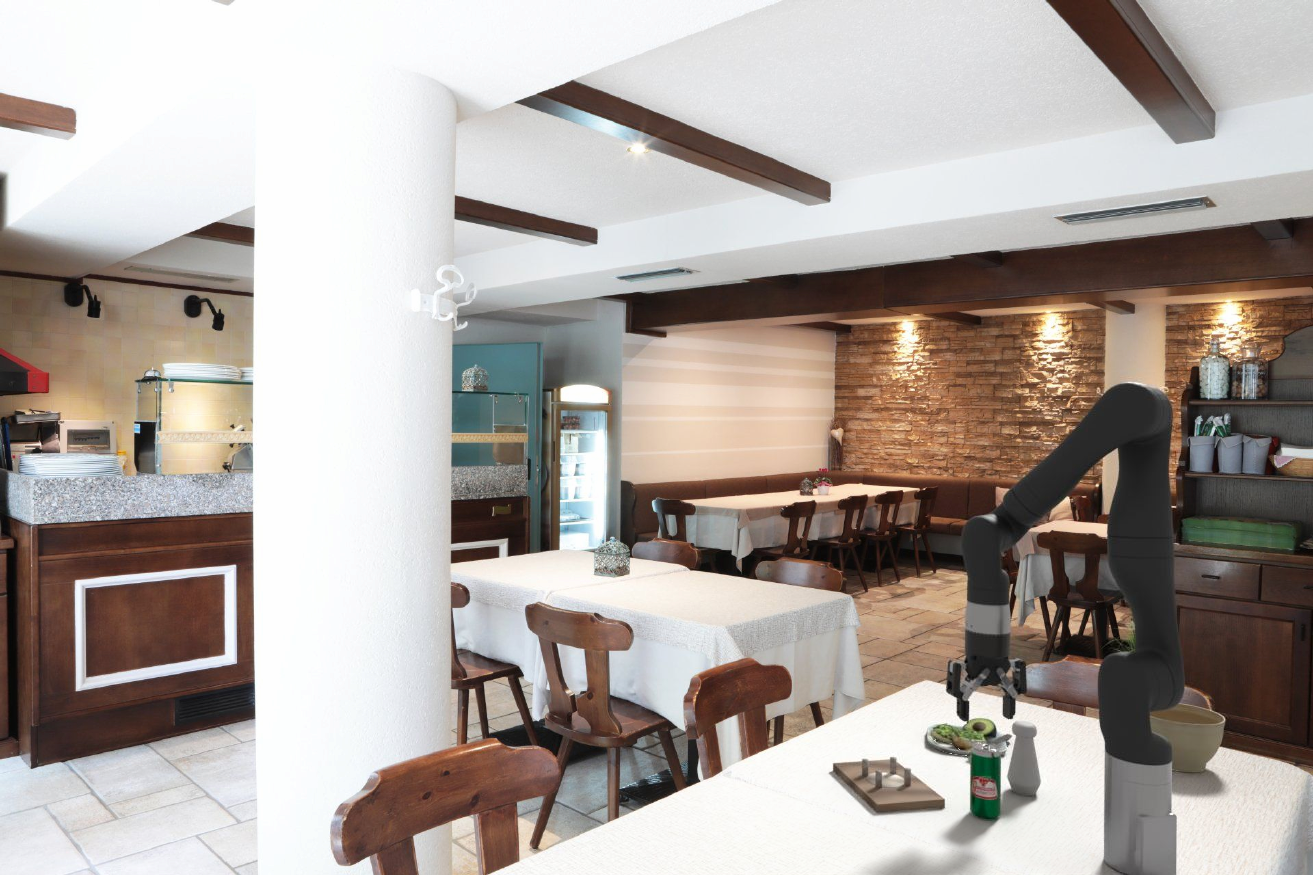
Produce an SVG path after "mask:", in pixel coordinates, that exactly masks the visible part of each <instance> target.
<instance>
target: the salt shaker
mask: <svg viewBox="0 0 1313 875" xmlns="http://www.w3.org/2000/svg"><path fill="white" fill-rule="evenodd" d="M1011 732H1012V735H1015V739H1014V742H1013V748H1012V752H1011V758H1010V761H1009V767H1008V770H1007V776H1006V777H1007V780H1008V783H1009V785H1010V788H1011V791H1012V792H1013V793H1015V794H1017V795H1020V796H1026V797H1032V796H1034V795H1036V794H1037V792H1038V790H1039V788H1040V786H1041V784H1042V783H1041V782H1042V779H1041V774H1040V769H1039V763H1038V757H1037V751H1036V750H1037V749H1036V746H1035V740H1034V738H1036V737H1037V734H1038V729H1037V726H1036V725H1035V724H1034V723H1033V722H1030V721H1028V720H1027V721H1026V720H1016V721H1014V722H1013V723H1012V725H1011Z"/></svg>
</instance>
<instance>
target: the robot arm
mask: <svg viewBox="0 0 1313 875" xmlns="http://www.w3.org/2000/svg"><path fill="white" fill-rule="evenodd" d="M1173 421H1174V409H1173V406H1172V402H1171V401H1170V399H1169V397H1168V396H1167V394H1166V393H1165V392H1163V390H1162V389H1160V388H1158V387H1156V386H1153V385H1150V384H1146V383H1141V382H1135V381H1126V382H1120V383H1118V384H1115V385H1113V386H1111V387H1109V388H1108V389H1107V390H1106V391H1105V392H1104V393H1103V394H1102V395H1101V396H1100V397H1099V399H1098V400H1096V402H1095V403H1094V404H1093V406H1092V407H1091V408H1090V409H1089V411H1088V412H1087V413H1086V414H1085V416H1083V418H1082V419H1081V420H1080V422H1078V424H1077V425H1076V426H1075V427H1074V428H1073V430H1072V431H1071V432H1070V433H1068V435H1067V436H1066V437H1065V438H1064V439H1063V440H1062V441H1061V442H1060V443H1059V445H1057V447H1055V448H1054V449H1053V450H1052V451H1051V452H1050V453H1049V454H1048V455H1047V456H1046V457H1044V459H1043V460H1041V462H1039V463H1038V464H1037V465H1036V466H1034V467H1033V468H1032V469H1031V470H1029V472H1028V473H1026V474H1025V475H1024V476H1022V478H1021V479H1019V480H1018V481H1017V482H1016V483H1015V484H1014V485H1013V486H1012V487H1010V488H1009V489H1008V490H1007V491H1006V492H1005V494H1004V495H1003V496H1002V502H1001V503H1000V504H998V506H996V508H994V509H993V510H992V511H991V512H989V513H987V514H984V515H983V514H981V515H975V516H973V517H971V518H969V519H968V520H967V521H966V522H965V524H964V525H963V527H962V531H961V535H960V536H961V538H960V545H961V546H960V547H961V553H962V557H963V564H964V567H965V571H966V576H967V582H966V605H965V613H964V614H965V615H964V653H965V658H964V661H955V660H953V659H950V660H948V662H947V674H946V684H945V685H946V686H945V687H946V688H945V691H946V692H945V693H947V694H948V695H951V696H952V697H953V698H954V699H956V710H955V711H956V715H957V717H958V718H959V720H961V721H962V722H964V723H965V722H966V723H967V721H970V700H969V699H970V697H971V696H972V694H973V693H974V692H976V691H978V689H979V687H981V688H983V687H988V686H992V687H998V686H999V687H1000V689H1001V691H1002V692H1003V694H1004V695H1002V716H1003V717H1004V718H1005V719H1007V720H1013V719H1014V716H1015V715H1016V710H1017V709H1016V705H1017V704H1016V702H1017V698H1018V696H1021V695H1026V694H1027V691H1028V687H1027V685H1028V684H1027V683H1028V682H1027V680H1028V679H1027V663H1026V661H1024V660H1023V659H1021V658H1017V657H1014V656H1013V658H1012V659H1010V658H1009V656H1010V654H1011V625H1012V624H1011V619H1012V618H1011V617H1012V616H1011V610H1010V609H1011V608H1010V586H1011V585H1010V583H1011V582H1010V576H1009V574H1008V572H1006V571H1005V570H1004V569H1002V561H1001V553H1004V552H1006V551H1008V550H1010V549H1012V547H1014V546H1015V545H1017V544H1018V543H1019V542H1020V541H1021V540H1022V539H1023V538H1024V537H1025V535H1026V534H1027V533H1028V532H1029V531H1030V530H1031V529H1032V527H1033V526H1034V525H1035V524H1036V523H1037V522H1038V521H1040V520H1041V519H1042V518H1044V517H1045V516H1046V515H1048V514H1049V513H1050V512H1051V511H1052V510H1054V509H1055V508H1057V506H1058V505H1059V504H1061V503H1062V502H1063V501H1064V500H1065V499H1066V498H1067V497H1068V496H1070V494H1071V493H1072V492H1073V491H1074V489H1075V488H1076V487H1077V486H1078V485H1079V483H1080V482H1081V481H1082V479H1083V478H1084V476H1086V475H1087V473H1088V472H1090V470H1091V469H1092V468H1093V467H1094V466H1096V464H1098V462H1100V461H1101V460H1102V459H1104V458H1105V457H1106V456H1108V455H1109V454H1111V453H1112V452H1114V451H1116V450H1117V454H1118V456H1117V457H1118V475H1117V480H1116V481H1117V482H1116V486H1115V490H1114V493H1113V497H1112V500H1111V504H1110V509H1109V513H1108V517H1107V524H1106V525H1107V527H1106V539H1107V541H1106V542H1107V545H1106V546H1107V563H1108V569H1109V571H1110V573H1111V576H1112V578H1113V580H1114V582H1115V583H1116V585H1117V587H1118V589H1119V591H1120V592H1121V594H1122V596H1123V597H1124V599H1125V601H1126V603H1127V606H1129V609H1130V612H1131V614H1132V617H1133V624H1134V635H1135V636H1134V638H1135V639H1134V640H1135V643H1134V644H1135V645H1134V646H1135V647H1134V650H1131V651H1130V650H1129V651H1120V652H1119V651H1118V652H1114V653H1110V654H1108V655H1106V656H1105V657H1104V658H1103V660H1102V661H1101V663H1100V665H1099V669H1098V673H1097V700H1098V702H1097V704H1098V719H1099V720H1098V721H1099V722H1098V723H1099V727H1100V728H1099V729H1100V731H1101V735H1102V737H1103V740H1104V770H1103V771H1104V774H1103V775H1104V778H1103V779H1104V787H1103V788H1104V789H1103V790H1104V791H1103V794H1104V796H1103V797H1104V798H1103V800H1104V802H1103V860H1104V862H1105V863H1106V864H1107V865H1108V866H1109V867H1111V868H1112V869H1113V870H1116V871H1118V872H1120V873H1122V874H1125V875H1177V849H1178V848H1177V844H1178V843H1177V836H1178V834H1177V833H1178V832H1177V830H1178V829H1177V828H1178V824H1177V823H1178V822H1177V821H1178V820H1177V819H1178V818H1177V815H1176V814H1175V813H1173V812H1172V805H1173V802H1172V801H1173V800H1172V798H1173V796H1172V795H1173V793H1172V790H1173V788H1172V787H1173V786H1172V784H1173V783H1172V782H1173V770H1172V745H1171V742H1170V741H1169V740H1168V739H1167V738H1166V737H1164V736H1162V735H1160V734H1157V733H1155V732H1152V730H1151V722H1150V712H1153V711H1161V710H1167V709H1171V708H1173V707H1175V706H1176V705H1177V704H1178V703H1181V701H1182V699H1183V697H1184V693H1185V687H1186V686H1185V685H1186V683H1185V682H1186V678H1185V667H1184V660H1183V655H1182V654H1183V652H1182V648H1181V640H1180V634H1179V626H1178V618H1177V615H1178V614H1177V602H1176V601H1177V600H1176V599H1177V597H1176V583H1175V582H1176V581H1175V538H1174V536H1175V535H1174V525H1173V523H1174V522H1173V507H1172V506H1173V505H1172V504H1173V503H1172V491H1171V482H1170V480H1171V479H1170V455H1171V446H1172V445H1171V443H1172V433H1173ZM964 670H965V672H966V673H965V675H964V676H963V677H962V675H963V674H964ZM1010 670H1011V673H1012V674H1011V676H1012V681H1011V680H1010V678H1008V676H1007V673H1008V672H1009V671H1010ZM961 677H962V679H961Z"/></svg>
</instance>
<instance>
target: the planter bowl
mask: <svg viewBox="0 0 1313 875" xmlns="http://www.w3.org/2000/svg"><path fill="white" fill-rule="evenodd" d="M1150 722H1151V730H1152V732H1155V733H1157V734H1160V735H1162V736H1164V737H1166V738H1167V739H1168V740H1169V741H1170V742H1171V745H1172V771H1178V772H1183V773H1201V772H1204V771H1205V770H1206V768H1207V764H1209V762H1210V761H1211V760H1212V759H1213V758H1214V757H1215V755H1216V754H1217V752H1218V751H1219V748H1220V747H1221V744H1222V741H1223V738H1224V729H1225V725H1226V718H1225V716H1224V715H1222V714H1221V713H1219V712H1216V711H1213V710H1212V709H1211V710H1210V709H1207V708H1204V707H1202V706H1201V707H1200V706H1196V705H1192V704H1185V703H1181V702H1179V703H1178V704H1177V705H1176V706H1175V707H1173V708H1171V709H1167V710H1161V711H1153V712H1150Z"/></svg>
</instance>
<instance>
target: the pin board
mask: <svg viewBox="0 0 1313 875" xmlns="http://www.w3.org/2000/svg"><path fill="white" fill-rule="evenodd" d="M832 771H833V772H834V773H835V774H836V775H837V776H838V777H839V778H840V779H841V780H842V781H843V782H844V781H845V782H844V783H845V784H846V785H848V786H849V788H850V789H852V790H853V791H854V792H855V793H856V794H857V795H858V796H859V797H860V798H861V799H862V800H864V802H865V803H866V804H868V806H870V807H871V808H872V809H873V811H875V812H876V814H877V813H878V814H880V813H882V814H883V813H891V812H892V813H894V812H905V811H906V812H907V811H919V810H932V809H945V808H946V807H945V806H946V800H945V798H944V797H942V796H941V795H940V794H939V793H937V791H935V790H934V789H933V788H932V787H930V786H928V785H927V784H926V783H925V782H923V781H922V780H921V779H920V778H918V777H917V776H916V775H915V774H913V773H912V769H911V768H909V767H904V766H903V765H902V764H901V763H900V762H898V761H897V757H896V756H890V758H889V759H874V760H873V759H872V760H869V759H868V758H862V759H861V761H844V762H842V761H841V762H833V763H832ZM943 807H944V808H943Z"/></svg>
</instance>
